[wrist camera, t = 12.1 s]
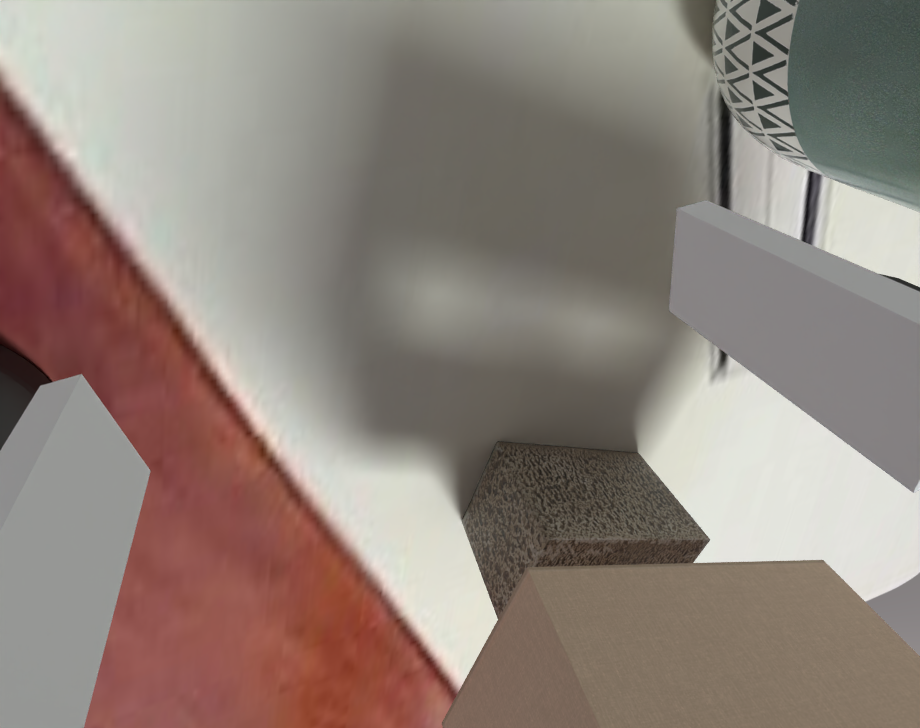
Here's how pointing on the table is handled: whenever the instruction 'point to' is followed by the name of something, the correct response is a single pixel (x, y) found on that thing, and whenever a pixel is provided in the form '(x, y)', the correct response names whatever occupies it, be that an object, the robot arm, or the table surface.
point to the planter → (828, 86)
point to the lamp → (657, 614)
